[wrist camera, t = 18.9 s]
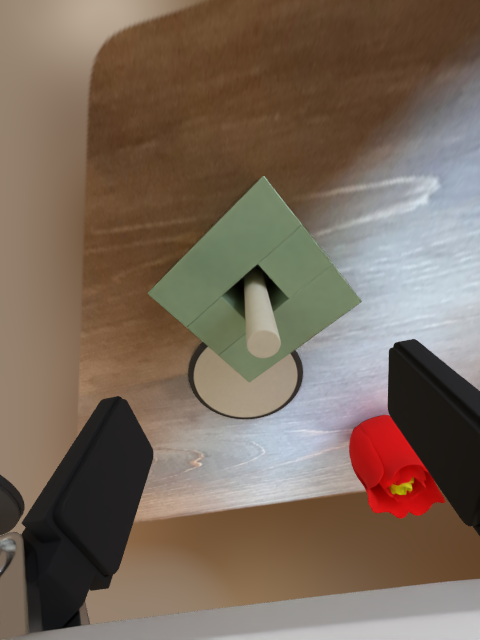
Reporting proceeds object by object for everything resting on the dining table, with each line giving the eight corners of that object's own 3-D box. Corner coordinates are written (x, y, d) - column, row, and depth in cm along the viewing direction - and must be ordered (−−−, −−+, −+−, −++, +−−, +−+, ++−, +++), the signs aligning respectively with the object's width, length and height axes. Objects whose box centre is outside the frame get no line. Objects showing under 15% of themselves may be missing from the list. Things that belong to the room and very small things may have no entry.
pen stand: (168, 269, 23) (146, 293, 18) (257, 178, 20) (263, 175, 15) (247, 343, 26) (249, 383, 21) (334, 275, 23) (362, 301, 18)
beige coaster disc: (165, 373, 28) (163, 376, 28) (250, 302, 24) (250, 304, 24) (241, 433, 32) (242, 436, 32) (325, 379, 28) (326, 382, 28)
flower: (390, 392, 29) (439, 459, 22) (418, 431, 32) (470, 502, 25) (328, 425, 31) (354, 495, 24) (358, 459, 34) (390, 531, 27)
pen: (233, 271, 23) (227, 343, 12) (254, 252, 22) (266, 311, 12) (251, 290, 24) (260, 374, 13) (272, 272, 23) (300, 346, 12)
